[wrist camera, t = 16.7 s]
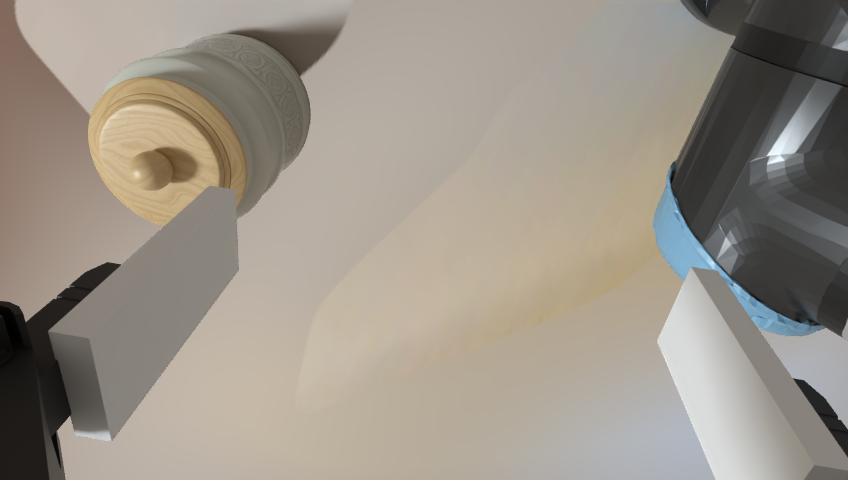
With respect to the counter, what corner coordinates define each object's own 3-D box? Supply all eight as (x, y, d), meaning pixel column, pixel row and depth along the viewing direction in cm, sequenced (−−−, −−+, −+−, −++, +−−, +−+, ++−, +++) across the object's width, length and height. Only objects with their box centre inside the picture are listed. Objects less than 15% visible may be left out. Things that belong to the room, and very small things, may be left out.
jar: (156, 119, 52) (19, 196, 37) (208, -2, 46) (71, 29, 31) (276, 194, 55) (194, 295, 39) (339, 89, 49) (272, 158, 33)
